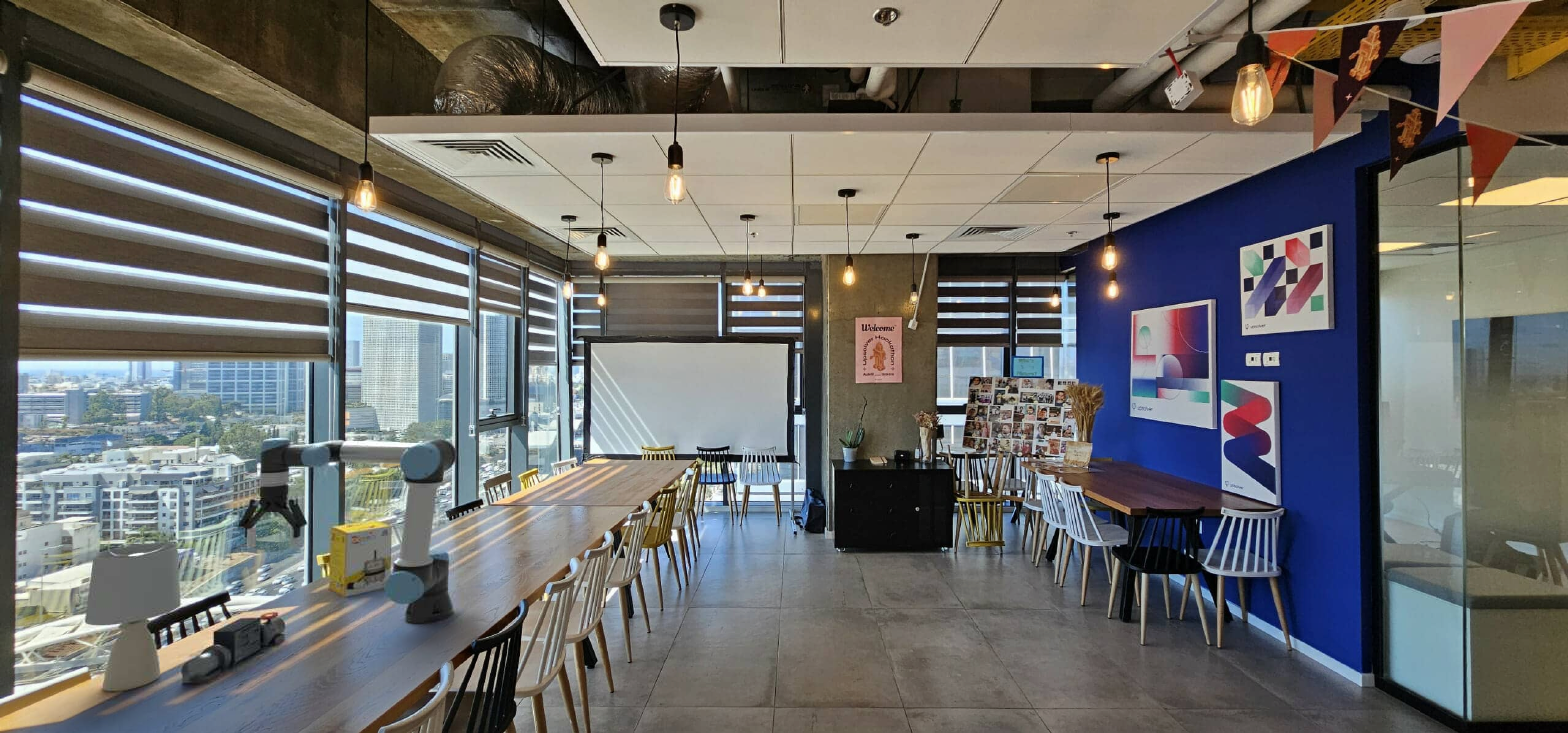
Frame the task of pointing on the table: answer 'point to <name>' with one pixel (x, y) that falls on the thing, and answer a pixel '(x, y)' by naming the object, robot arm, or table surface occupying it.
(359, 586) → the packaging box
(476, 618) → the table surface
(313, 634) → the table surface
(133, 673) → the lamp
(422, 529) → the robot arm
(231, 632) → the small box
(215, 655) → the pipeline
